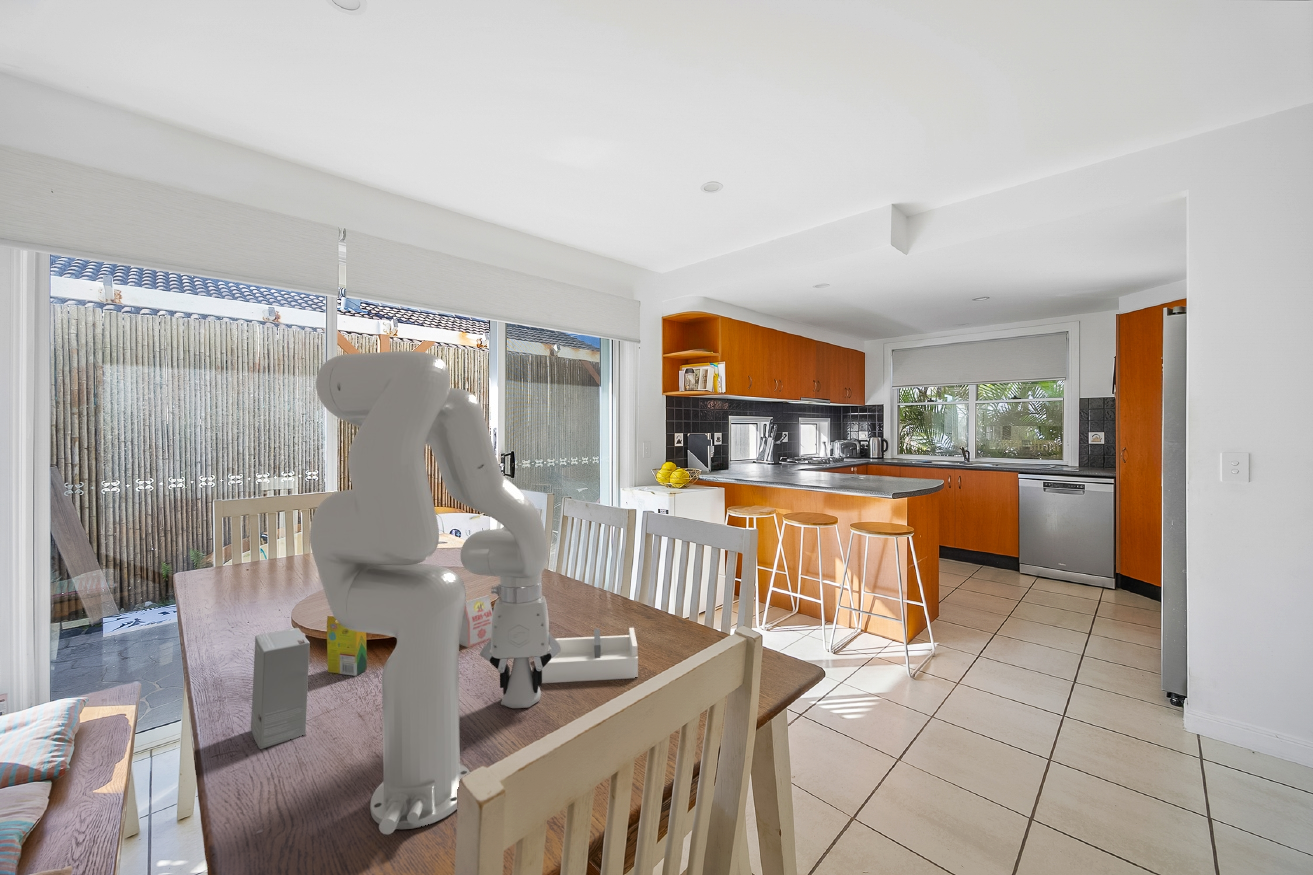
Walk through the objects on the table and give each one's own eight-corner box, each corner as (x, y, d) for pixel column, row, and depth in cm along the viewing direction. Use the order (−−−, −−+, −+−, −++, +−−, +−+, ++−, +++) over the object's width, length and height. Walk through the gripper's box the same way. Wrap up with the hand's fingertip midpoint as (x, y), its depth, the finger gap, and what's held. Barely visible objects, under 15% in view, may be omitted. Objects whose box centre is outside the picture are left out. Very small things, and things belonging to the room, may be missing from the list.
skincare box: (249, 730, 90) (248, 635, 89) (300, 714, 95) (299, 624, 94) (259, 752, 84) (257, 651, 83) (312, 733, 89) (311, 638, 88)
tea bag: (458, 643, 125) (458, 600, 125) (484, 634, 131) (483, 593, 130) (468, 647, 123) (467, 604, 123) (493, 638, 128) (493, 596, 128)
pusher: (600, 669, 109) (600, 644, 109) (594, 669, 109) (594, 645, 109) (599, 651, 118) (599, 628, 118) (594, 651, 118) (594, 629, 117)
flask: (531, 711, 95) (531, 655, 95) (493, 707, 97) (493, 652, 97) (547, 692, 103) (547, 639, 102) (512, 688, 104) (512, 636, 104)
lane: (637, 677, 108) (637, 648, 108) (535, 683, 106) (535, 653, 106) (633, 652, 120) (633, 625, 120) (541, 657, 118) (541, 629, 118)
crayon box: (367, 670, 112) (366, 614, 111) (356, 676, 109) (355, 619, 109) (338, 666, 114) (337, 611, 113) (326, 672, 111) (325, 615, 111)
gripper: (468, 600, 95) (469, 703, 95) (566, 596, 97) (567, 697, 97) (477, 587, 102) (478, 683, 102) (568, 584, 104) (568, 678, 104)
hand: (521, 689), depth 100 cm, fingers closed on flask, 4 cm apart
